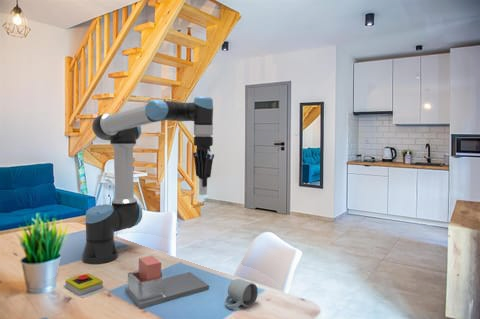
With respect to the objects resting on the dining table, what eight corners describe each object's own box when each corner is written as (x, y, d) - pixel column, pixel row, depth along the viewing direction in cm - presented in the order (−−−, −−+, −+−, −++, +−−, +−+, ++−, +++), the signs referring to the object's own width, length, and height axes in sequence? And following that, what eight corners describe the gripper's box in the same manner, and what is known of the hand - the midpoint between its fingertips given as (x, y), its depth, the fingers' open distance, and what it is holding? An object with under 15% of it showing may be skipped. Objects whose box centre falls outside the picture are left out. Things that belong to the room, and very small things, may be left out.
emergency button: (86, 268, 140) (107, 279, 130) (86, 279, 140) (107, 290, 131) (62, 275, 133) (82, 287, 123) (62, 287, 133) (82, 299, 123)
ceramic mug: (241, 294, 128) (241, 273, 127) (258, 302, 122) (258, 280, 121) (219, 305, 120) (218, 283, 120) (236, 314, 115) (236, 290, 114)
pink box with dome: (138, 287, 128) (138, 258, 127) (154, 283, 132) (154, 255, 131) (147, 296, 122) (147, 265, 121) (163, 291, 125) (163, 261, 124)
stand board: (125, 291, 129) (124, 287, 129) (189, 275, 144) (189, 271, 144) (140, 308, 117) (140, 303, 116) (208, 289, 132) (208, 284, 132)
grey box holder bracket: (128, 289, 127) (127, 272, 127) (152, 283, 133) (152, 267, 132) (139, 301, 118) (139, 284, 118) (164, 294, 124) (164, 277, 123)
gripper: (220, 136, 140) (219, 196, 142) (203, 135, 151) (203, 191, 152) (203, 136, 136) (203, 197, 137) (187, 135, 146) (187, 192, 148)
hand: (203, 194), depth 145 cm, fingers closed
